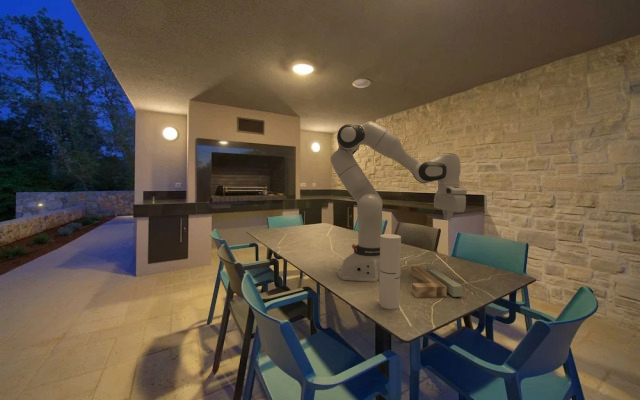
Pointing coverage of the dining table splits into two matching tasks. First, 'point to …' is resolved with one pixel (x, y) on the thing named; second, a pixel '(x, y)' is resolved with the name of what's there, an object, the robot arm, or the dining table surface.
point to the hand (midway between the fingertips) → (447, 220)
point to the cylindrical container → (390, 271)
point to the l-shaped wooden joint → (426, 284)
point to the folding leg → (445, 281)
